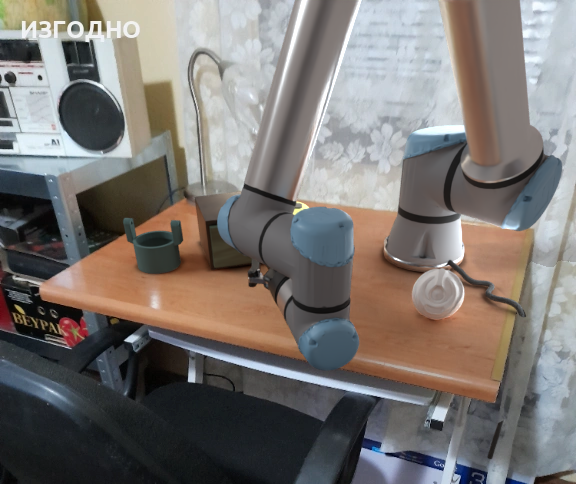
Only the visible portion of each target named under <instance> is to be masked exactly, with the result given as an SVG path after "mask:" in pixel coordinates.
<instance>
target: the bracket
mask: <svg viewBox="0 0 576 484" xmlns="http://www.w3.org/2000/svg"><path fill="white" fill-rule="evenodd" d="M122 224H123V227H124V232H125V233H124V234H125V237H126V241H127V242H128V243H130V244H131V245H133V251H134V253H135V260H136V264H137V268H138V270H139V271H140V272H142V273H145V274H151V275H153V274H154V275H158V274H165V273H170V272H172V271H174V270H176V269H178V268H179V266H180V265H181V264H182V259H181V252H180V247H179V246H180V245H181V244H182V243H183V242H184V235H183V229H182V222H181V220H179V219H171V220H170V223H169V224H170V231H169V230H153V231H152V230H151V231H146V232H143V233H140V234H137V231H136V227H135V223H134V218H133V217H124V218H123V220H122Z"/></svg>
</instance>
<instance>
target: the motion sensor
mask: <svg viewBox="0 0 576 484" xmlns="http://www.w3.org/2000/svg"><path fill="white" fill-rule="evenodd" d="M464 287H465V286H464V285H463V282H462V280H461V279H460V277H459V276H458V275H457V274H456V273H455V272H453V271H451V270H445V269H443V268H441V269H432V270H429V271H427V272H423V273H422V274H421V275H420V276H419V277H418V278H417V280H416V281H415V283H414V284H413V286H412V289H411V300H412V303H413V306H414V308H415V309H416V311H417V312H418V313H419V314H420V315H421V316H423V317H425V318H427V319H430V320H435V321H436V320H437V321H438V320H444V319H447V318H449V317H452V316H453V315H454V314H455V313H456V312H457V311H458V310H459V309H460V308H461V306H462V305H463V302H464V299H465V288H464Z"/></svg>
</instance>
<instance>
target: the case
mask: <svg viewBox="0 0 576 484" xmlns="http://www.w3.org/2000/svg"><path fill="white" fill-rule="evenodd" d="M238 194H241V191H233V192H232V191H231V192H223V193H214V194H206V195H197V196H194V205H195V212H196V213H195V214H196V219H197V221H196V222H197V229H198V234H199V236H198V237H199V243H200V246H201V248H202V251H203V253H204V256H205V258H206V260H207V263H208V267H209V268H210V271H214V270H221V269H223V270H224V269H229V268H236V267H243V266H249V265H251V266H252V263H247V264H240V265H232V266H225V267H218V268H215V267H214V264H213V255H212V246H211V237H210V228H209V226H210V225H212V224H217V220H218V214H219V211H220V209H221V207H223V205H224V204H225V203H226V201H227V200H228V199H229V198H230V197H232V196H234V195H238Z"/></svg>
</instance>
